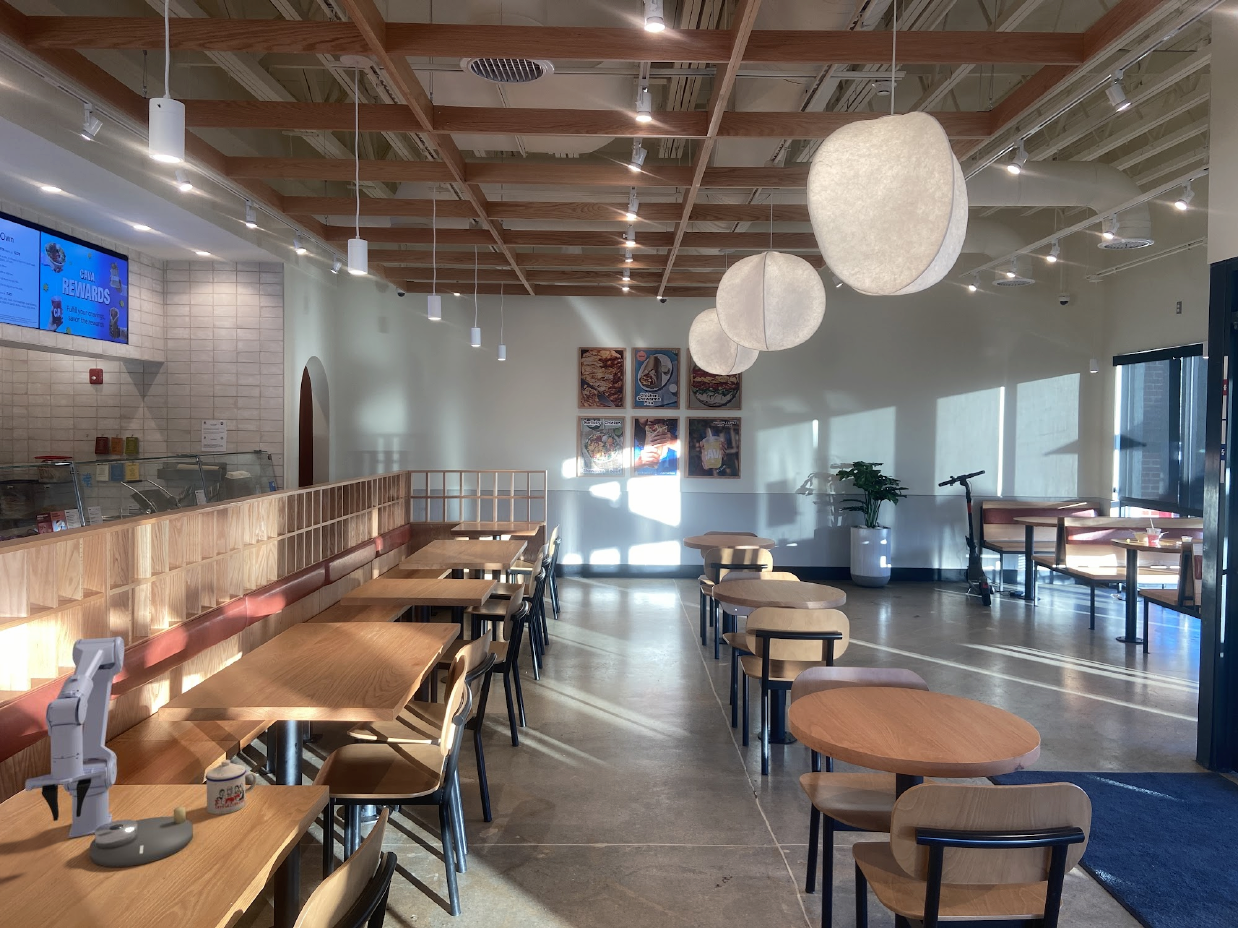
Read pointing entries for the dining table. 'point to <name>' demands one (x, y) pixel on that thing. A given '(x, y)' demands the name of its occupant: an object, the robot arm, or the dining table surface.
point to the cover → (115, 834)
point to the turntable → (148, 841)
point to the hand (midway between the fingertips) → (67, 816)
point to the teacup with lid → (227, 788)
